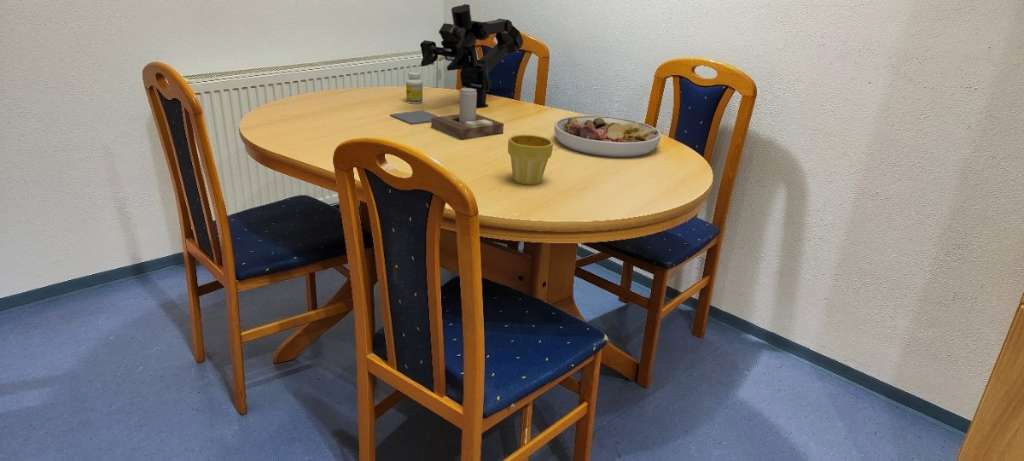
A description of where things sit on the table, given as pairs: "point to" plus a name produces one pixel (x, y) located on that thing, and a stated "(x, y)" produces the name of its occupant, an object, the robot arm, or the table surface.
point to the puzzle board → (467, 126)
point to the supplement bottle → (414, 88)
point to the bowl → (607, 136)
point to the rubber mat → (414, 117)
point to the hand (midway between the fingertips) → (434, 66)
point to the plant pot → (529, 157)
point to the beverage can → (467, 105)
